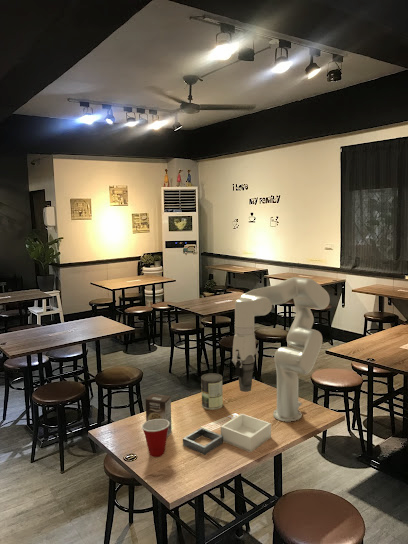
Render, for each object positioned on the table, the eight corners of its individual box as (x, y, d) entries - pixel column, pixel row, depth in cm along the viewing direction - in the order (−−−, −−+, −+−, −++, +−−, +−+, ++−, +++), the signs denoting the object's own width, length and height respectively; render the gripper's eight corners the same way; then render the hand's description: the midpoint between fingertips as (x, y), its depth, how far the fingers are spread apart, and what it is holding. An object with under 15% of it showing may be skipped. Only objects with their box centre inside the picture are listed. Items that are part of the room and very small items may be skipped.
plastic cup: (159, 442, 177) (158, 414, 175) (176, 452, 169) (175, 423, 167) (136, 453, 169) (135, 423, 168) (153, 464, 162) (152, 433, 160)
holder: (201, 434, 183) (201, 427, 182) (223, 442, 175) (223, 435, 175) (183, 445, 174) (182, 438, 174) (204, 455, 167) (204, 447, 166)
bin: (241, 426, 188) (241, 413, 187) (271, 437, 179) (271, 423, 178) (220, 440, 177) (220, 426, 176) (250, 452, 168) (250, 437, 167)
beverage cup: (253, 393, 171) (253, 344, 168) (235, 392, 172) (234, 343, 170) (255, 386, 178) (254, 338, 175) (237, 385, 179) (236, 338, 177)
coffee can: (198, 408, 207) (197, 379, 205) (205, 399, 217) (205, 372, 215) (219, 411, 204) (218, 382, 202) (225, 402, 213) (225, 374, 211)
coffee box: (146, 435, 182) (144, 399, 180) (153, 428, 188) (151, 392, 186) (166, 439, 179) (164, 401, 177) (172, 431, 185) (171, 395, 183)
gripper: (249, 324, 181) (249, 365, 183) (223, 333, 168) (224, 378, 170) (264, 327, 176) (265, 369, 178) (239, 336, 163) (240, 382, 165)
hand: (245, 373), depth 174 cm, fingers closed on beverage cup, 6 cm apart
